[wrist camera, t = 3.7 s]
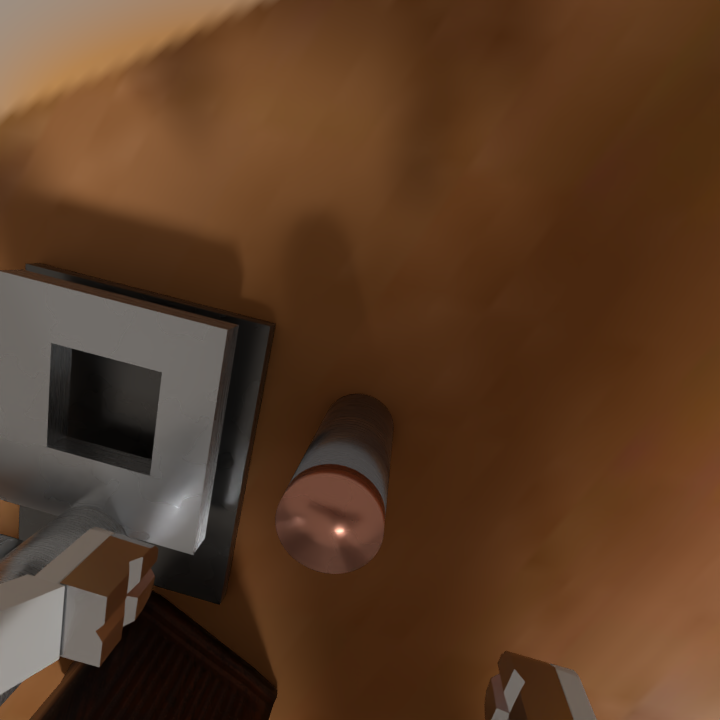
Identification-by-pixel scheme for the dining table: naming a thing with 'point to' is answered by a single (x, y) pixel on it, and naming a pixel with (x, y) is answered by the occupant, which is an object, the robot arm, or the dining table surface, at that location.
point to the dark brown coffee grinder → (162, 676)
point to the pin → (340, 489)
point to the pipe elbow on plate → (125, 423)
